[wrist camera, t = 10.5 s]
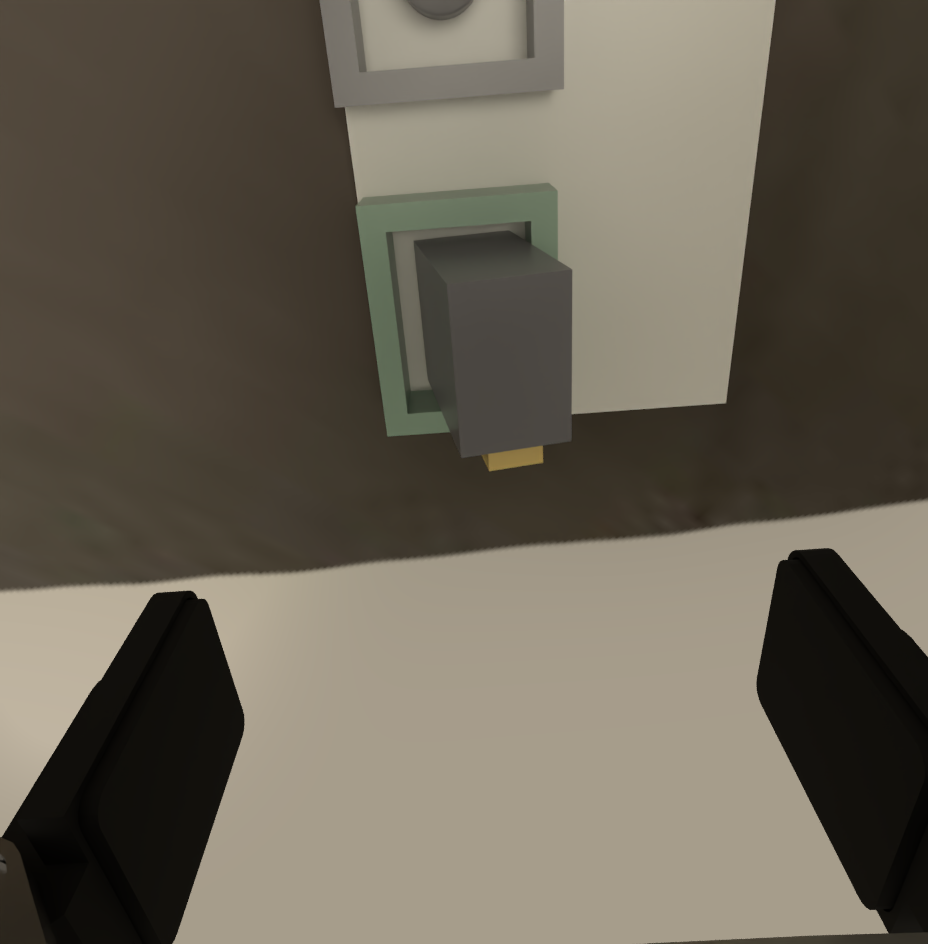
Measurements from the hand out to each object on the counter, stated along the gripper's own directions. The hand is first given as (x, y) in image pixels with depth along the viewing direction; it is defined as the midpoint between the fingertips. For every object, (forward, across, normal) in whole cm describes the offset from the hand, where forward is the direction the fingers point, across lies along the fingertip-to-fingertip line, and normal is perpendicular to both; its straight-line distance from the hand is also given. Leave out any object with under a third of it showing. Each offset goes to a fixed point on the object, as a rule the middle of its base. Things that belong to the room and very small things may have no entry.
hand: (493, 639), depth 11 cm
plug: (+21, 0, 0) cm, 21 cm away
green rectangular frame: (+21, 0, 0) cm, 21 cm away
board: (+22, -4, -5) cm, 23 cm away
